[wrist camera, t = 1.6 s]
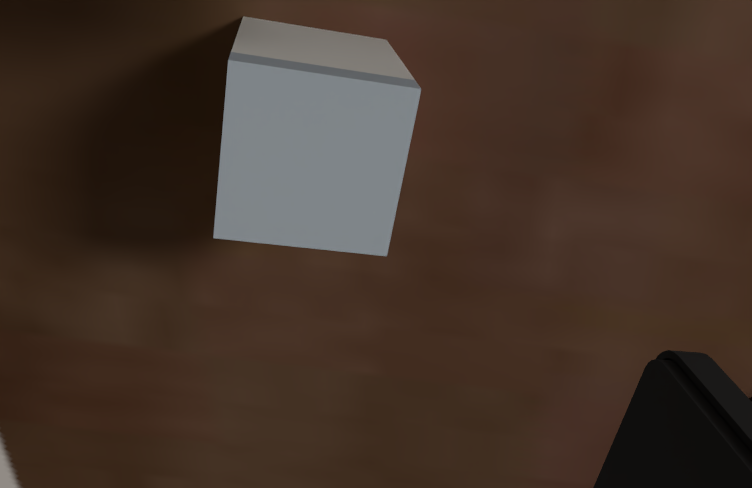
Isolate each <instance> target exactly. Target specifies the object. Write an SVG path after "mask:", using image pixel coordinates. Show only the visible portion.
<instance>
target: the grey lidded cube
mask: <svg viewBox="0 0 752 488" xmlns="http://www.w3.org/2000/svg"><path fill="white" fill-rule="evenodd" d="M420 93H421V88H420V87H419V85H418V84H417V82H416V81H415V79H414V78H413V77H412V75H411V74H410V72H409V71H408V70H407V68H406V67H405V65H404V64H403V62H402V61H401V60H400V58H399V57H398V55H397V54H396V53H395V51H394V50H393V48H392V47H391V45H390V44H389V43H388V41H387V40H384V39H378V38H372V37H366V36H360V35H354V34H348V33H341V32H335V31H329V30H323V29H317V28H311V27H305V26H299V25H292V24H286V23H280V22H274V21H268V20H262V19H256V18H250V17H243V18H242V21H241V24H240V27H239V30H238V33H237V36H236V39H235V42H234V44H233V47H232V50H231V53H230V56H229V59H228V68H227V80H226V92H225V104H224V116H223V128H222V140H221V152H220V164H219V176H218V188H217V200H216V212H215V224H214V236H213V238H217V239H227V240H236V241H246V242H256V243H265V244H275V245H284V246H294V247H303V248H313V249H323V250H332V251H342V252H351V253H361V254H370V255H380V256H387V253H388V248H389V243H390V238H391V233H392V228H393V224H394V219H395V214H396V209H397V204H398V199H399V195H400V190H401V185H402V180H403V175H404V170H405V165H406V161H407V156H408V151H409V146H410V141H411V136H412V132H413V127H414V122H415V117H416V112H417V107H418V103H419V98H420Z"/></svg>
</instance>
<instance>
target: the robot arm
mask: <svg viewBox="0 0 752 488" xmlns="http://www.w3.org/2000/svg"><path fill="white" fill-rule="evenodd" d="M594 488H752V402H751V401H750V399H749V398H748V397H747V396H746V395H745V394H744V393H743V392H742V391H741V390H740V389H739V388H738V386H737V385H736V384H735V383H734V382H733V381H732V380H731V379H730V378H729V377H728V376H727V375H726V374H725V372H724V371H723V370H722V369H721V368H720V367H719V366H718V365H717V364H716V363H715V362H714V361H713V359H712V358H710V357H709V356H708V355H706V354H703V353H696V352H683V351H670V350H668V351H664V352H662V353H661V354H659V355H658V356H657V358H656V359H655V360H651V361H650V362H649V363H648V364H647V366H646V367H645V369H644V372H643V374H642V376H641V379H640V381H639V383H638V386H637V388H636V390H635V392H634V395H633V397H632V399H631V402H630V404H629V406H628V409H627V411H626V413H625V416H624V418H623V420H622V423H621V425H620V427H619V430H618V432H617V434H616V437H615V439H614V441H613V444H612V446H611V448H610V450H609V453H608V455H607V457H606V460H605V462H604V464H603V467H602V469H601V471H600V474H599V476H598V478H597V481H596V483H595V485H594Z"/></svg>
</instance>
